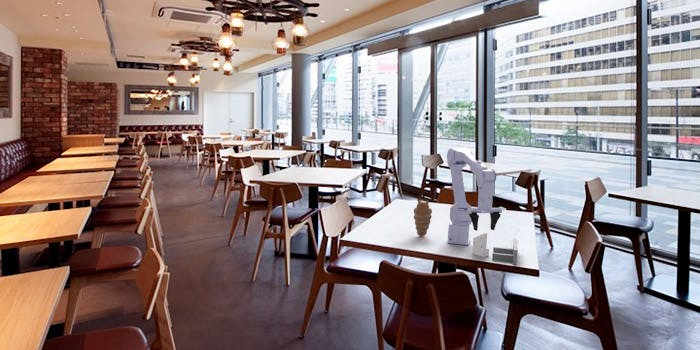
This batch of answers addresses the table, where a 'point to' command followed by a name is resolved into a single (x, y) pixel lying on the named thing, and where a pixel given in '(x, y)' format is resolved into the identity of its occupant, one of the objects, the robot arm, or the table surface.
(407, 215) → the table surface
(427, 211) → the cat ice cream
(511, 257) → the socket bay
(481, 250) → the white wedge bracket
